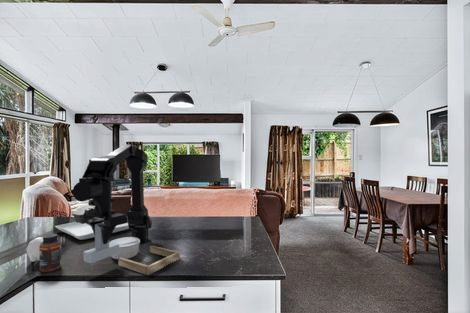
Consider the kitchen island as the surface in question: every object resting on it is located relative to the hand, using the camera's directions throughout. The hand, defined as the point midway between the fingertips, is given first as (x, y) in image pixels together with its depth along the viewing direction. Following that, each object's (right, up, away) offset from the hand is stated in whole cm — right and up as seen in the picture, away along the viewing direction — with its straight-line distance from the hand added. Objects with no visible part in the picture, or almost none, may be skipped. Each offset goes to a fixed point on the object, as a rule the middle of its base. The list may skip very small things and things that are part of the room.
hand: (102, 243), depth 86 cm
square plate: (-26, -9, +45) cm, 53 cm away
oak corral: (+14, -9, +7) cm, 18 cm away
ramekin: (+2, -9, +13) cm, 17 cm away
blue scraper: (0, -5, 0) cm, 5 cm away
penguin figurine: (-26, -9, +10) cm, 30 cm away
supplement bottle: (-18, -9, +1) cm, 20 cm away
